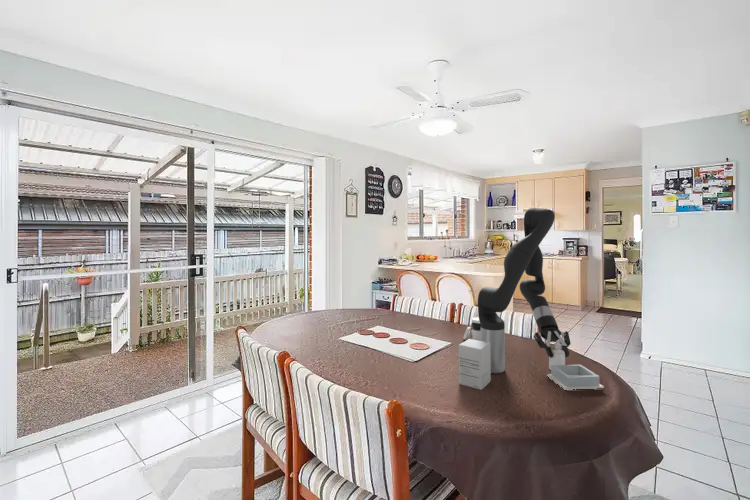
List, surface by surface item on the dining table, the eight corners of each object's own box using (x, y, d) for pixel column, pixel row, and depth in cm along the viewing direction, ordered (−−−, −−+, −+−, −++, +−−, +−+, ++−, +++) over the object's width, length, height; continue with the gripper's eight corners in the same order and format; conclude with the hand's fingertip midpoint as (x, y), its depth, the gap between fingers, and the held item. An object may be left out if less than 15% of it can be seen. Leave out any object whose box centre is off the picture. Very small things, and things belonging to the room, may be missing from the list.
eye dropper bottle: (562, 373, 144) (563, 343, 143) (547, 369, 148) (547, 340, 147) (566, 370, 147) (566, 340, 146) (551, 366, 151) (552, 337, 150)
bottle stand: (564, 390, 129) (564, 378, 129) (547, 376, 141) (547, 365, 141) (603, 389, 129) (603, 376, 129) (583, 375, 141) (583, 363, 141)
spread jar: (489, 345, 179) (489, 321, 178) (466, 345, 179) (466, 321, 179) (483, 337, 191) (483, 315, 190) (461, 337, 191) (461, 315, 191)
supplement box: (468, 375, 143) (468, 338, 142) (491, 381, 138) (491, 342, 137) (458, 383, 136) (457, 344, 135) (481, 390, 131) (481, 349, 130)
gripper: (531, 315, 153) (545, 353, 142) (564, 314, 153) (581, 351, 142) (525, 324, 159) (538, 361, 147) (558, 323, 159) (573, 360, 148)
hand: (559, 356), depth 145 cm, fingers closed on eye dropper bottle, 5 cm apart
